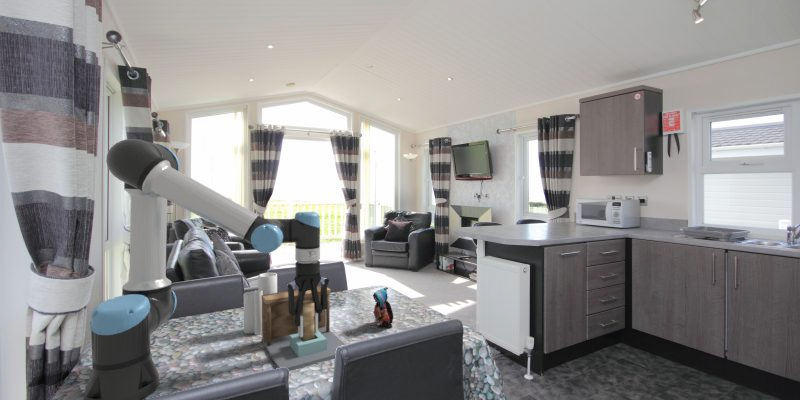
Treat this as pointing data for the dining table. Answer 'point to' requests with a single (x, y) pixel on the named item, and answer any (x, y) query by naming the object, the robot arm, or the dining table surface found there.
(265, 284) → the vase
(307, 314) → the oak peg
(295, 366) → the socket board
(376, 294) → the figurine
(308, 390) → the dining table surface
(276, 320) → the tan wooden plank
